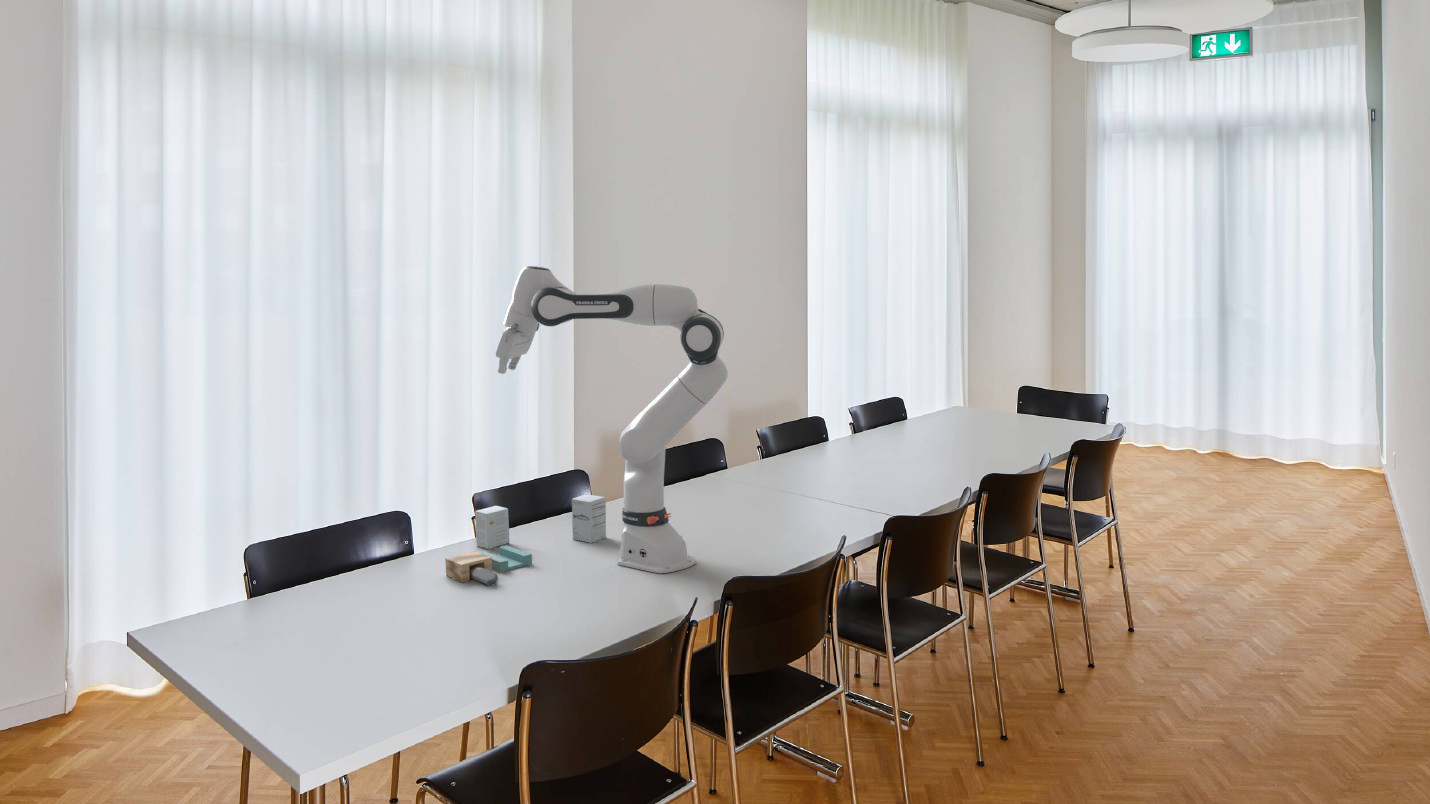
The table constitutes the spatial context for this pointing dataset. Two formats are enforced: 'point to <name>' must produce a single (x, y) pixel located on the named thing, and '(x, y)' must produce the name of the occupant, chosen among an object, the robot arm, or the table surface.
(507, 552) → the cradle
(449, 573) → the wooden bridge block
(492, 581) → the axle
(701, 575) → the table surface
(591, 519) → the supplement box
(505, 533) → the small box
